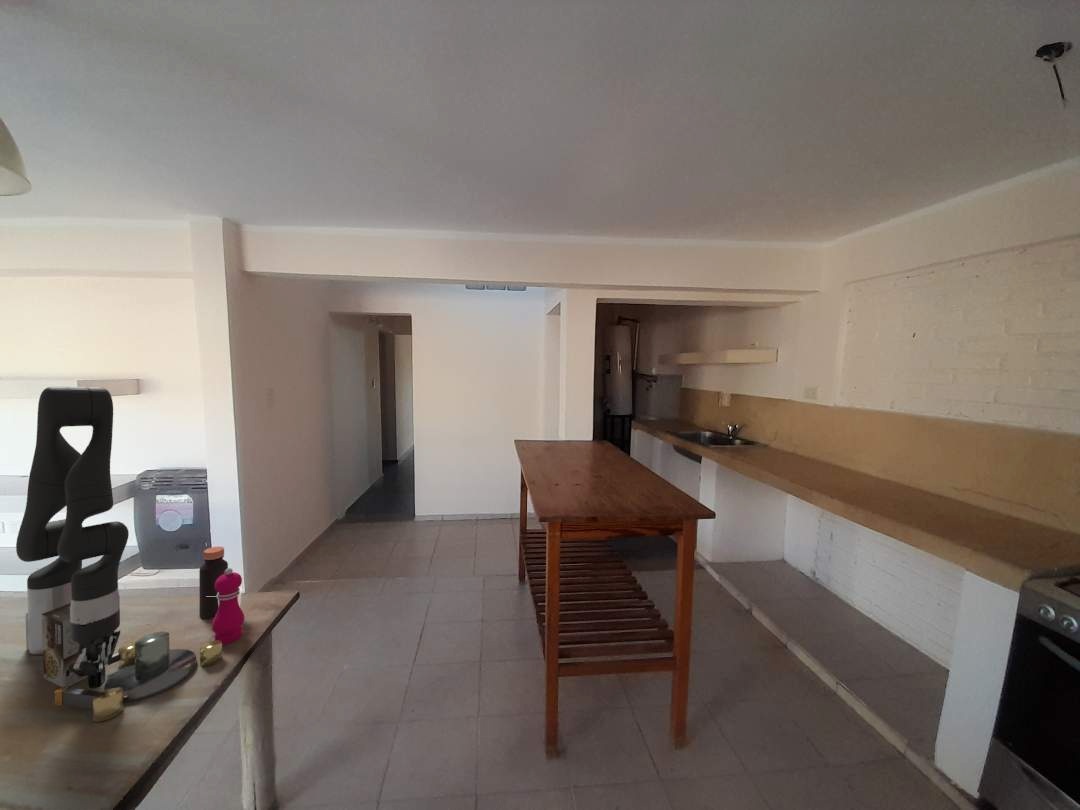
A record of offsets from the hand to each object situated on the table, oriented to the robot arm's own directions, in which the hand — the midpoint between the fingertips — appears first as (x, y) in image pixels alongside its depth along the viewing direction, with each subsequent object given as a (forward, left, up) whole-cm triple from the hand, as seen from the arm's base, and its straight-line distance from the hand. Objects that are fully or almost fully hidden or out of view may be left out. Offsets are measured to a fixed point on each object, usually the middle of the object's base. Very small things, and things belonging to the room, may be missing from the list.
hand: (96, 685), depth 91 cm
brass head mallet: (+4, -4, -2) cm, 6 cm away
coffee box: (-13, +5, -2) cm, 13 cm away
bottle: (-3, +33, -2) cm, 33 cm away
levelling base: (+6, +8, -2) cm, 10 cm away
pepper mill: (+11, +23, -2) cm, 25 cm away
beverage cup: (+5, +30, -2) cm, 30 cm away
